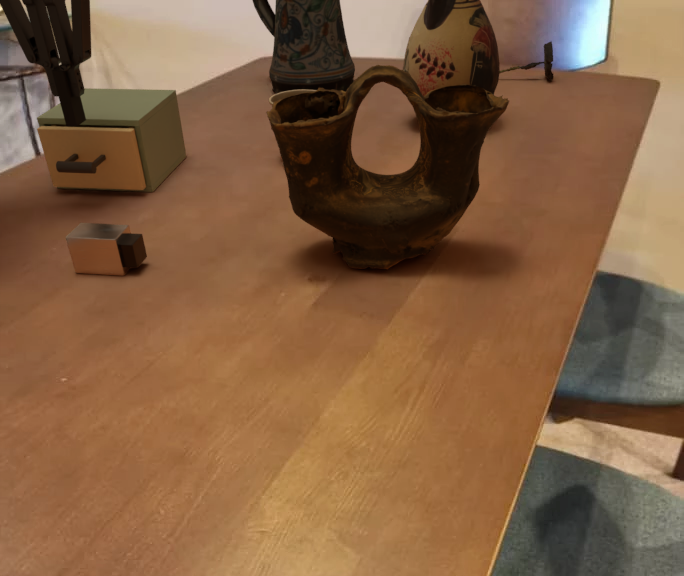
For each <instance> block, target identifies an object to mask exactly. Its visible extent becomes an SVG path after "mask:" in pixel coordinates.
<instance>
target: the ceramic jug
mask: <svg viewBox="0 0 684 576" xmlns="http://www.w3.org/2000/svg"><path fill="white" fill-rule="evenodd" d="M498 46H499V45H498V41H497V37H496V34H495V31H494V28H493V25H492V23H491V21H490V19H489V16H488V15H487V12H486V9H485V7H484V5H483V3H482V1H481V0H427V2H426V3H425V4H424V7H423V9H422V11H421V13H420V14H419V16H418V18H417V20H416V22H415V24H414V26H413V28H412V30H411V33H410V35H409V37H408V41H407V44H406V48H405V53H404V58H403V65H402V70H403V71H405V72H407V73H409V74H410V75H411V77H412V78H413V79H414V81H415V82H416V83H417V85H418V87H419V89H420V91H421V93H422V95H423V96H425V95H426V94H427V93H428V92H429V91H431V90H434V89H438V88H443V87H447V86H456V85H462V84H468V85H471V86H475V87H481V88H483V89H485V90H486V91H488V92H491V93H492V94H493V95H494V96H495V92H496V89H497V87H498V84H499V80H500V74H499V72H500V71H501V70H500V69H501V66H500V55H499V47H498ZM487 94H490V93H487ZM406 99H407V101H408V102H409V100H408V97H406Z"/></svg>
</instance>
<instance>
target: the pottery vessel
mask: <svg viewBox="0 0 684 576" xmlns="http://www.w3.org/2000/svg"><path fill="white" fill-rule="evenodd" d="M380 83H385V84H388V85H389V86H392V87H394V88H397V89H398V90H400V91H401V93H402V95H404V96H405V97H406V98H407V97H408V99H407V101H408V100H409V101H408V102H409V103H410V105H411V106H412V109H413V111H414V114H415V116H416V120H417V123H418V128H419V137H420V145H419V153H418V156H417V158H416V161H415V162H414V163H413V165H412V166H411V167H410V168H409V169H407V170H406V171H403V172H400V173H395V174H381V173H375V172H372V171H370V170H367V169H364V168H362V167H361V166H359V165H358V164H357V162H356V161H355V159H354V156H353V152H352V139H353V132H354V126H355V122H356V118H357V114H358V111H359V108H360V106H361V104H362V103H363V101H364V100H365V98H366V97H367V96H368V94H369V93H370V91H371V89H372V88H373V87H374V86H375V85H377V84H380ZM487 93H490V94H487ZM503 96H504V95H503V94H502V95H500V96H496V95H495V94H494V95H493V94H492V93H491V92H488V91H486V90H485V89H483V88H481V87H475V86H471V85H468V84H462V85H456V86H447V87H443V88H438V89H434V90H431V91H429V92H428V93H427V94H426V95H425V96H423V95H422V93H421V91H420V89H419V87H418V85H417V83H416V82H415V81H414V79H413V78H412V77H411V75H410V74H409V73H407V72H405V71H403V69H400V68H399V67H396V66H394V65H390V64H386V65H383V64H382V65H381V64H376V65H373V66H371V67H369V68H367V69H366V70H365V71H364V72H362V73H361V74H360V75H359V76H357V78H356V79H355V80H354V82H353V83H352V84H351V85H350V87H349V88H348V89H347V91H346V92H344V91H343V90H342V91H337V90H334V89H332V90H326V89H324V88H318V90H317V91H314V92H304V93H299V94H296V95H294V96H289V97H286V98H283V99H280V100H278V101H276V102H274V103H273V107H272V106H271V109H270V110H268V111H266V116H267V118H268V120H269V124H270V130H271V131H272V132H273V135H274V138H275V141H276V144H277V148H278V150H279V155H280V157H281V161H282V165H283V170H284V173H285V178H286V180H287V186H288V187H287V188H288V198H289V201H290V204H291V209H292V211H293V213H294V214H295V216H297V217H298V218H299V219H300V220H302V221H303V222H305V223H306V224H307V225H310V226H311V227H313V228H314V229H316V230H318V231H320V232H321V233H323V234H325V235H327V236H328V237H330V238H332V245H333V246H332V247H333V248H332V254H333V255H336V254H338V253H341V254H342V258H341V260H343V261H344V262H345V263H346V265H347V266H348V267H349V268H350V269H360V270H363V269H367V268H370V269H379V270H387V271H388V270H389V269H390V268H391V267H393V266H395V265H397V264H398V263H400V262H402V261H404V260H406V259H413V258H416V257H418V256H420V255H423V256H426V255H427V254H429V253H431V252H432V251H433V250H435V246H437V245H439V243H440V242H441V241H442V240H443V239H445V237H447V236H448V235H449V234H451V232H452V231H453V229H454V228H455V227H456V225H457V224H458V223H459V222H460V220H461V219H462V217H463V216H464V215H465V213H466V211H467V210H468V208H469V207H470V205H471V204H472V202H473V201H474V200H475V198H476V195H477V194H478V191H479V189H480V185H481V184H480V174H479V172H480V171H479V167H480V158H481V157H480V156H481V152H482V147H483V145H484V143H485V139H486V137H487V134H488V132H489V131H490V129H491V128H492V127H493V126H494V124H495V122H496V121H497V120H498V119H499V118H500V117H501V116H502V115H504V113H505V112H506V110H507V109H508V105H509V104H510V100H509V98H508V97H506V98H505V97H504V98H503Z"/></svg>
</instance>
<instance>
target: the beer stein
mask: <svg viewBox="0 0 684 576" xmlns="http://www.w3.org/2000/svg"><path fill="white" fill-rule="evenodd" d="M252 3H253V7H254V9H255V11H256V13H257V15H258V17H259V18H260V21H261V22H262V23H263V25H264V26H265V28H266V30H268V32H269V34H271V36H272V37H273V50H272V56H271V57H272V58H271V63H270V66H269V70H268V75H269V79H270V83H271V85H272V91H273V92H274V94H277V93H280V92H284V91H291V90H302V89H303V90H304V89H305V90H318V88H324V89H326V90H332V89H334V90H337V91H342V90H343V91H344V92H346V91H347V89H348V88H349V87H350V85H351V84H352V83H353V82H354V81H355V80H354V77H355V72H356V66H355V65H356V64H355V63H354V61H353V59H352V56H351V53H350V52H351V51H350V49H349V45H348V41H347V36H346V31H345V26H344V20H343V12H342V6H341V0H275V11H274V10H273V8H272V5H270V2H269V1H268V0H252Z"/></svg>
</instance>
